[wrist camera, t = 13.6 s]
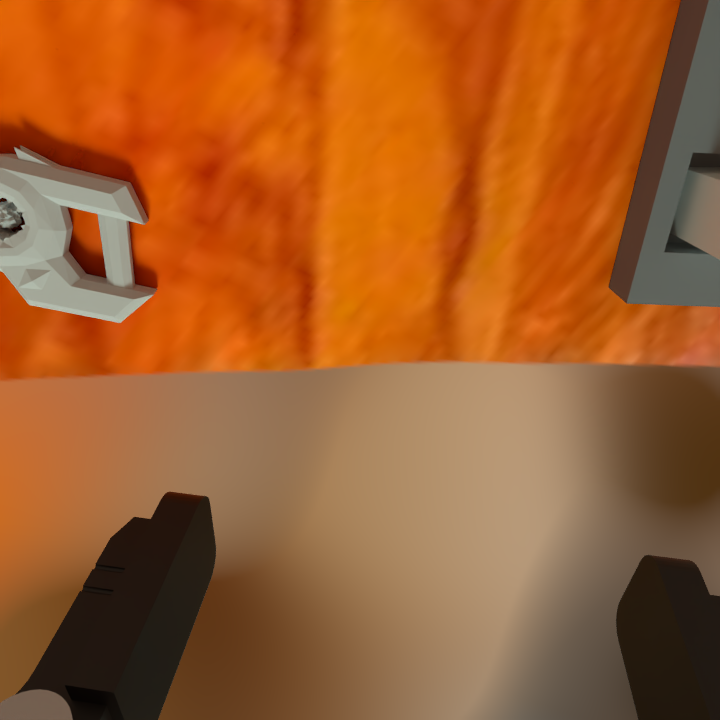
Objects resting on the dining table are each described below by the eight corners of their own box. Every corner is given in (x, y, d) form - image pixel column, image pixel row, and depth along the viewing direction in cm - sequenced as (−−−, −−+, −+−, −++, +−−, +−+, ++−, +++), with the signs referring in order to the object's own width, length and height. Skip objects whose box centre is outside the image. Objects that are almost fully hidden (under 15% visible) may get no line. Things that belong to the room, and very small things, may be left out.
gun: (-159, 276, 36) (-179, 105, 32) (-123, 259, 40) (-136, 101, 35) (145, 335, 40) (163, 188, 36) (157, 316, 43) (174, 178, 39)
